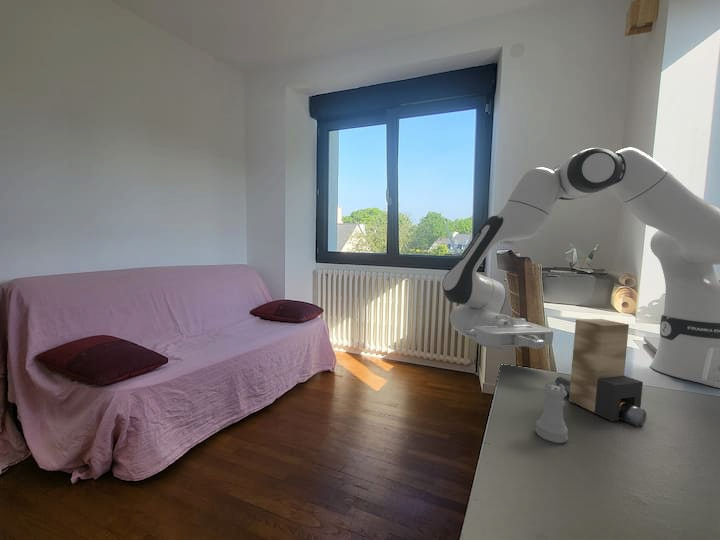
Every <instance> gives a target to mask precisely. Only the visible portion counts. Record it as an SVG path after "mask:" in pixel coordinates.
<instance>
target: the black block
mask: <svg viewBox="0 0 720 540" xmlns="http://www.w3.org/2000/svg"><path fill="white" fill-rule="evenodd" d="M643 384H644V381H641V380H639V379H635V378H632V377H630V376H626V375H624V376H617V377H608V378H599V379H598V380H597V391H596V402H595V413H594V414H596V415H598V416H600V417H602V418H604V419H607V420H608V421H611V422H615V421H616V422H617V421H620V420H619V419H620V418H619V411H620V400H621V401H624V402H626V403H629V404H631V405H634V406H636V407H639V408H641V406H642V405H641V404H642V394H643Z"/></svg>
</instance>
